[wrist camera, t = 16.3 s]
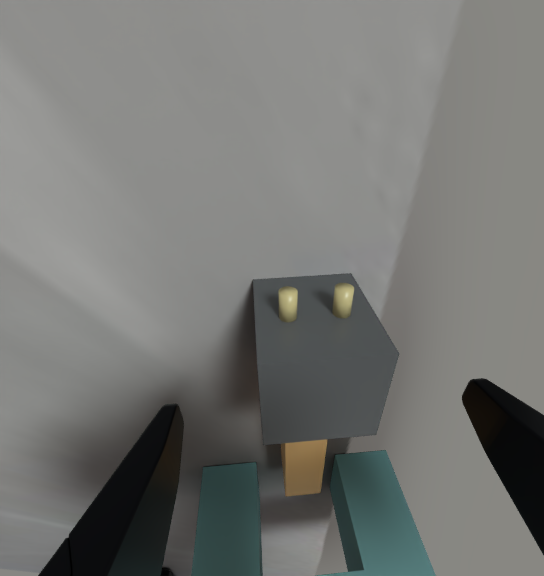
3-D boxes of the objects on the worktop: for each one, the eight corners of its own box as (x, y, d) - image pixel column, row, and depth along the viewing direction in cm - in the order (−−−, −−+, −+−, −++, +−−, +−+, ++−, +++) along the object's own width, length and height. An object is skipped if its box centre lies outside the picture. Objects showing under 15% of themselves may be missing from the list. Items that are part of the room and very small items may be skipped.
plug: (327, 448, 19) (347, 534, 16) (265, 454, 19) (270, 542, 15) (354, 251, 12) (407, 326, 8) (251, 257, 11) (255, 337, 8)
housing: (374, 482, 22) (416, 608, 17) (212, 499, 22) (202, 634, 16) (385, 450, 20) (439, 584, 14) (203, 467, 19) (187, 614, 14)
